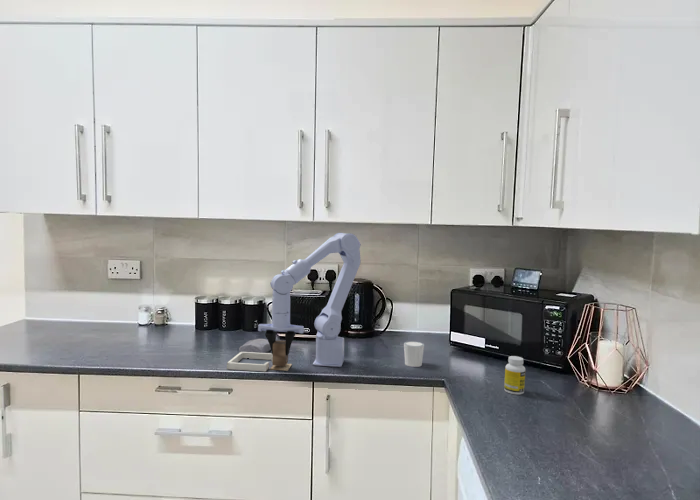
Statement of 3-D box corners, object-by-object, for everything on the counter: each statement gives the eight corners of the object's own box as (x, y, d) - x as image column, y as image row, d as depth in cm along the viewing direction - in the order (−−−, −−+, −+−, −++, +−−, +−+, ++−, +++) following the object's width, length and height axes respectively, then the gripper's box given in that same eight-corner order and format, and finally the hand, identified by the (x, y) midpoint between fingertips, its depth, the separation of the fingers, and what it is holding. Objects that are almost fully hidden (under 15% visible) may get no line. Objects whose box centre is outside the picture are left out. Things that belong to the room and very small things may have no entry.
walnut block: (287, 362, 147) (288, 341, 146) (284, 366, 143) (285, 344, 142) (275, 361, 147) (276, 340, 147) (272, 365, 143) (272, 343, 143)
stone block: (237, 360, 158) (264, 356, 156) (235, 346, 158) (261, 343, 156) (251, 352, 169) (276, 348, 167) (248, 339, 169) (273, 336, 167)
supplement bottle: (522, 396, 125) (523, 362, 124) (502, 392, 128) (503, 358, 127) (526, 390, 130) (527, 357, 129) (506, 386, 132) (508, 354, 132)
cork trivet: (291, 365, 147) (291, 364, 147) (287, 370, 142) (287, 369, 142) (275, 364, 148) (275, 363, 148) (270, 369, 142) (270, 368, 142)
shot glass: (411, 359, 156) (412, 340, 156) (427, 364, 152) (428, 344, 151) (399, 363, 152) (399, 343, 151) (415, 368, 147) (416, 347, 146)
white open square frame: (276, 359, 153) (276, 353, 153) (265, 371, 141) (265, 365, 140) (240, 357, 154) (240, 351, 154) (226, 369, 142) (226, 362, 142)
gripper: (306, 310, 147) (305, 351, 148) (262, 308, 149) (262, 349, 149) (301, 315, 140) (300, 357, 141) (256, 312, 142) (255, 355, 142)
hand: (280, 353), depth 145 cm, fingers closed on walnut block, 4 cm apart
